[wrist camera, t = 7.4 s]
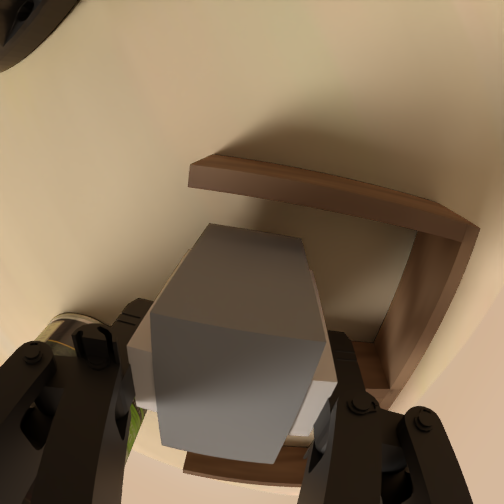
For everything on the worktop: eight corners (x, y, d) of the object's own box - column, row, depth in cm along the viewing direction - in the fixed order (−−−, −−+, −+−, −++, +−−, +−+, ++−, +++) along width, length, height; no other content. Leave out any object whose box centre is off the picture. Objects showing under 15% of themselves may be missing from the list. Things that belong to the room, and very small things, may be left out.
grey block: (209, 223, 13) (149, 312, 6) (301, 238, 13) (326, 342, 6) (199, 334, 15) (161, 445, 9) (275, 346, 15) (273, 464, 9)
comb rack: (212, 154, 13) (190, 164, 10) (438, 203, 13) (480, 228, 10) (191, 436, 23) (183, 472, 19) (319, 451, 23) (321, 487, 19)
